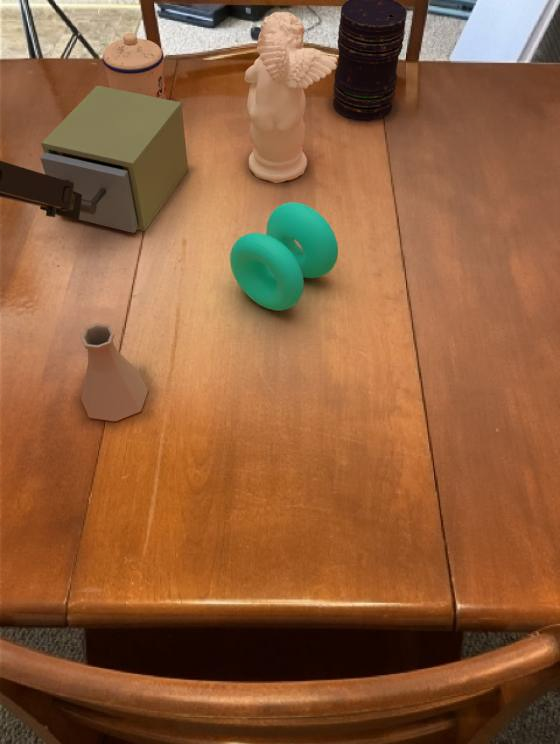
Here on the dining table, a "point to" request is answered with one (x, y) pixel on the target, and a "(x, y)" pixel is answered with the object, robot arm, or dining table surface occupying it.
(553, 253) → the dining table surface
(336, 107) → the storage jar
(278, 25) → the cherub figurine
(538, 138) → the dining table surface
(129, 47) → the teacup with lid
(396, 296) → the dining table surface
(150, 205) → the cabinet
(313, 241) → the green rounded spool
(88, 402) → the flask
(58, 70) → the dining table surface
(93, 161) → the drawer
